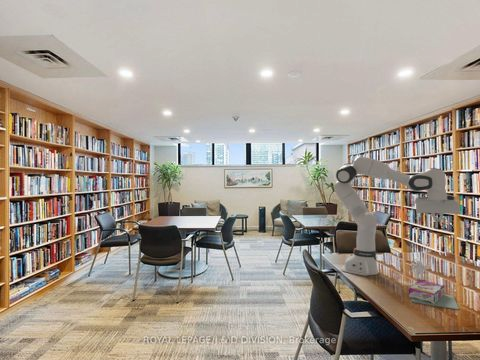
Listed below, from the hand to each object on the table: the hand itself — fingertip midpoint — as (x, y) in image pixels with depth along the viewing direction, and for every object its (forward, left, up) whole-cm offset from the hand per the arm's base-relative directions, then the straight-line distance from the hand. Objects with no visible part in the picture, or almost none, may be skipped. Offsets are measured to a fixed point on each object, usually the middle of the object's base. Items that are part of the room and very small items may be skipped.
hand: (437, 221), depth 155 cm
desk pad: (-5, -26, -35) cm, 44 cm away
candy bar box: (-5, -16, -32) cm, 36 cm away
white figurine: (-9, +5, -35) cm, 37 cm away
